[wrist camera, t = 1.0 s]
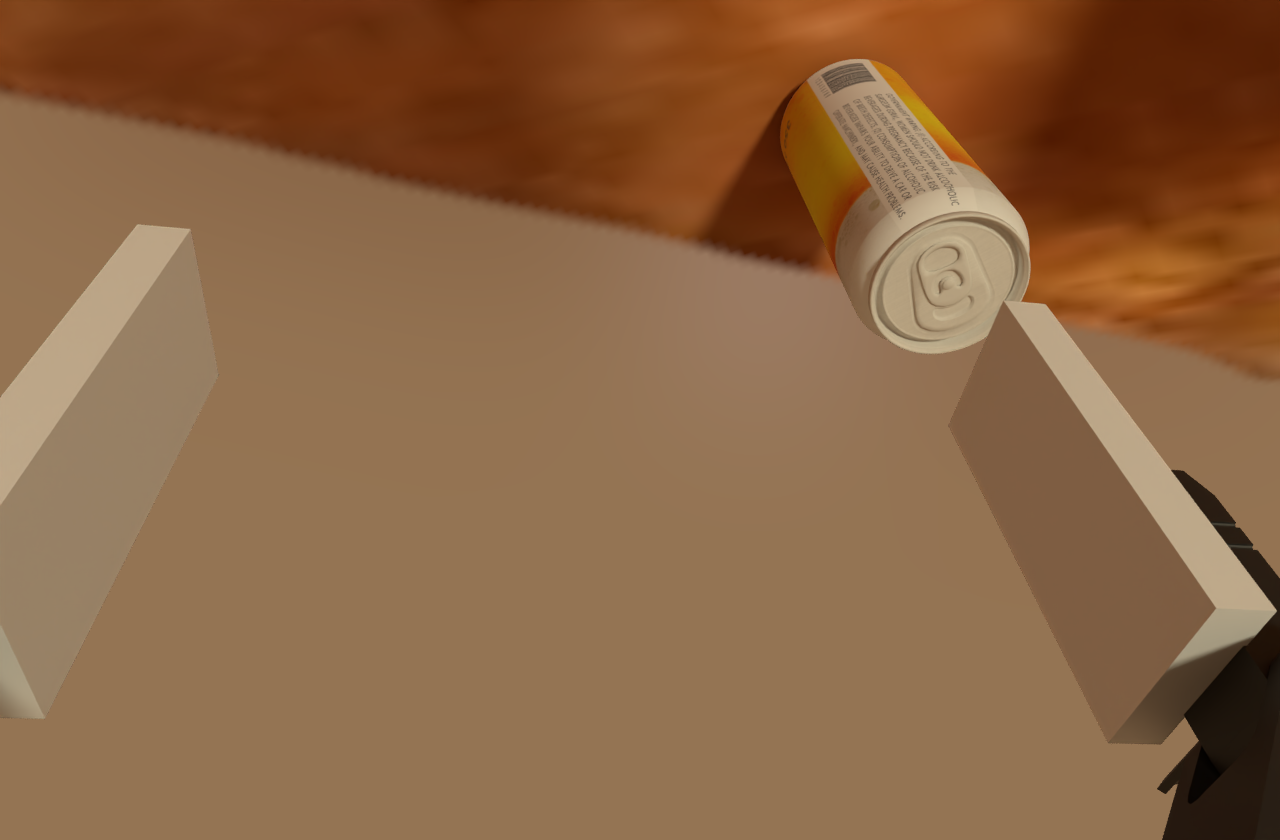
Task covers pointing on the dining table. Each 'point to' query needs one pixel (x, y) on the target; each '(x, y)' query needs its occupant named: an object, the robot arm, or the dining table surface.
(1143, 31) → the dining table surface
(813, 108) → the beer can
